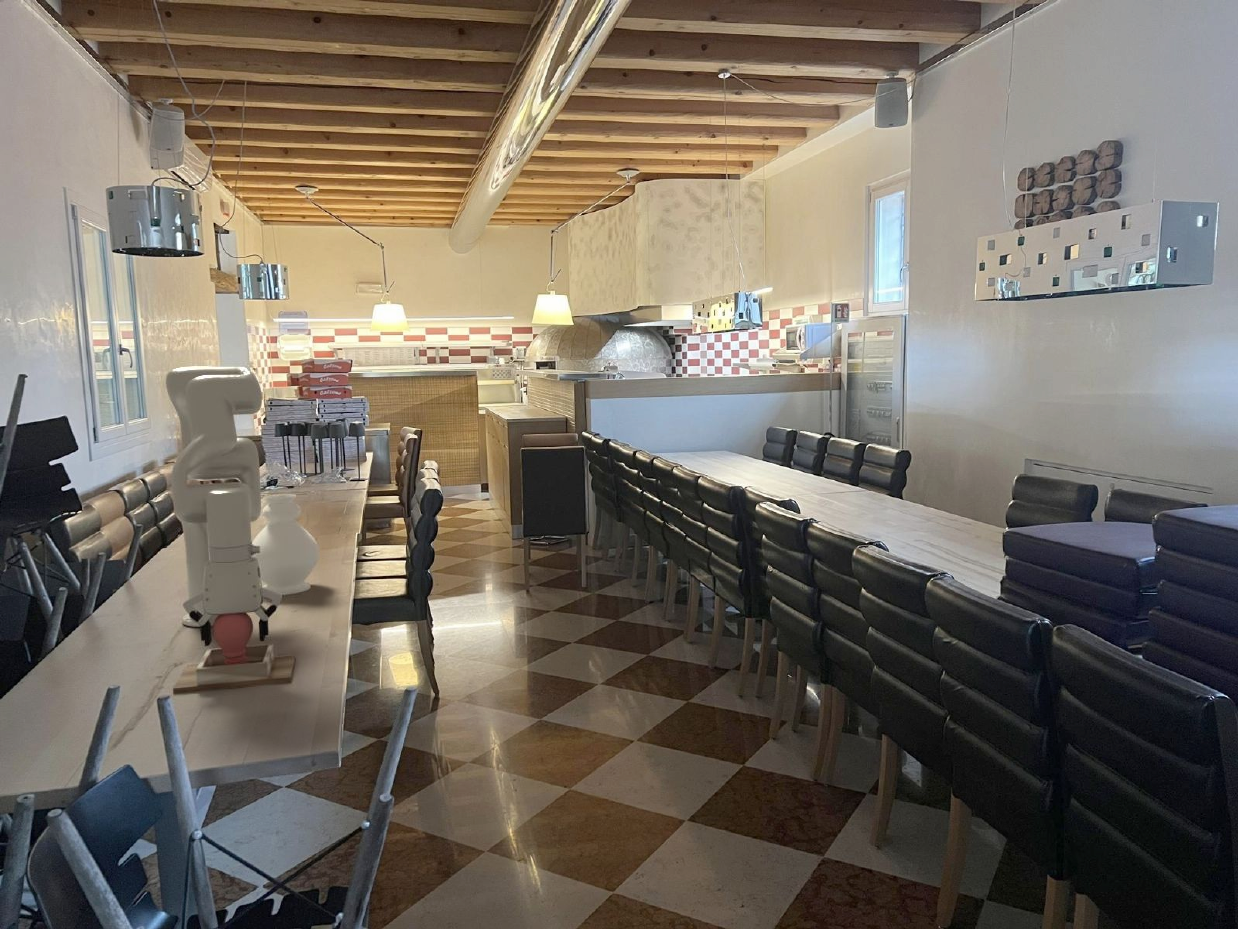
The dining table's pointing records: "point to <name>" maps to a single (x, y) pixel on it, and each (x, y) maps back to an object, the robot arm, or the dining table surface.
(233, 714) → the dining table surface
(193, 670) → the bulb holder
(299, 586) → the decorative vase
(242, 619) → the light bulb
